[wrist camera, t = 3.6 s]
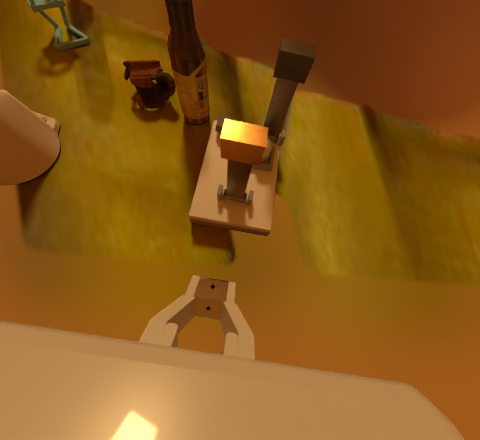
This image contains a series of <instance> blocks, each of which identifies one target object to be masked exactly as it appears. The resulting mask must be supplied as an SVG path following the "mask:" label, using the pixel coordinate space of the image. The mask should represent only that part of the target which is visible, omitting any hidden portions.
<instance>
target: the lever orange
mask: <svg viewBox="0 0 480 440" xmlns="http://www.w3.org/2000/svg"><path fill="white" fill-rule="evenodd" d="M267 134H268V127H263V126H258V125H253V124H248V123H243V122H239V121H234V120H229V119H225V121H224V125H223V129H222V133H221V137H220V149H221V158H223V159H228V165H227V189H225V190H224V195H223V199H227V200H233V201H238V202H243V203H245V202H246V198H247V193H245V191H246V187H247V184H248V180H249V176H250V173H251V169H252V165H258V166H259V165H260V162H261V159H262V156H263V153H264V151H265V148H266V141H267Z"/></svg>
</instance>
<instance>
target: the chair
mask: <svg viewBox="0 0 480 440" xmlns="http://www.w3.org/2000/svg"><path fill="white" fill-rule="evenodd" d="M27 1H28V3H29V5H30V7H31V8H32V9H33V11H34V12H39V13H40V14H41V15H43V16H44V17H45V18H46V19H47V20H48V21H49V22H50V23H51V24H52V25H53V26H54V27H55V46H56V47H57V49H58V50H59V51H62V50H65V49H69V48H73V47H77V46H81V45H84V44H88V43H90V41H89V39H88V37H87V36H86V35H84V34H83V33H82V32H80V31H79V30H77V29H76V28H74V27H73V26H71V25H70V24H69V22H68V19H67V16H66V13H65V9H64V6H66V5H65V3H64V2H63V0H27ZM55 7H60V10H61V13H62V16H63V20H64V23H65V25H66V26H67V28H68V29H69V30H70V31H71V32H73V33H74V34H76V35H78V36H79V37H81V39H77V40H73V41H69V42H65V43H61V39H62V31H61V29H60V27H59V26H58V24H56V23H55V22H54V21H53V20H52V19H51V18H50V17H49V16H48V15H47V14H46V13H44V12H43V10H45V9H49V8H55Z"/></svg>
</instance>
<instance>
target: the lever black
mask: <svg viewBox="0 0 480 440" xmlns="http://www.w3.org/2000/svg"><path fill="white" fill-rule="evenodd" d="M315 52H316V46H315V45H311V44H307V43H302V42H298V41H293V40H289V39H285V38H282V39H281V43H280V48H279V51H278V56H277V60H276V64H275V69H274V76H273V77H276V78H277V80H276V83H275V87H274V91H273V94H272V98H271V102H270V105H269V109H268V112H267V116H266V120H265V123H264V127H268V134H267V138H268V139H270V140H271V141H272V142H275V143H277V142H278V140H279V136H280V133H279V130H280V128H281V125H282V123H283V120H284V118H285V115H286V113H287V110H288V108H289V105H290V103H291V100H292V97H293V95H294V92H295V90H296V87H297V85H298V82H299V83H303V84H304V83H305V81H306V78H307V76H308V74H309V71H310V69H311V67H312V64H313V62H314V60H315Z"/></svg>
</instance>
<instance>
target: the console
mask: <svg viewBox="0 0 480 440" xmlns="http://www.w3.org/2000/svg"><path fill="white" fill-rule="evenodd" d="M216 124H217V120H214V123H213V126H212V130H211V134H210V138H209V141H208V145H207V149H206V153H205V156H204V160H203V164H202V167H201V171H200V175H199V179H198V182H197V186H196V190H195V194H194V197H193V201H192V205H191V209H190V212H189V220H190V221H191V223H197V224H202V225H208V226H213V227H219V228H224V229H230V230H236V231H241V232H247V233H253V234H258V235H264V236H267V235H268V234H269V233H270V231H271V225H272V216H273V207H274V197H275V188H276V179H277V170H278V161H279V152H280V146H282V144H283V141H284V139H285V136H286V130H282V132H281V134H280V136H279V140H278V142H277V143H275V142H272V143H273V147H272V150H271V152H270V155H269V157H268V160H267V161H265V162H260V165H259V166H258V165H252V169H251V173H250V176H249V180H248V184H247V187H246V191H245V193H247V198H246V202H245V203H243V202H238V201H233V200H227V199H223V195H224V190H225V189H227V165H228V159H223V158H221V149H220V137H221V133H220V132H217V131H215V129H216ZM256 125H258V124H256ZM258 126H259V125H258Z"/></svg>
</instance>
